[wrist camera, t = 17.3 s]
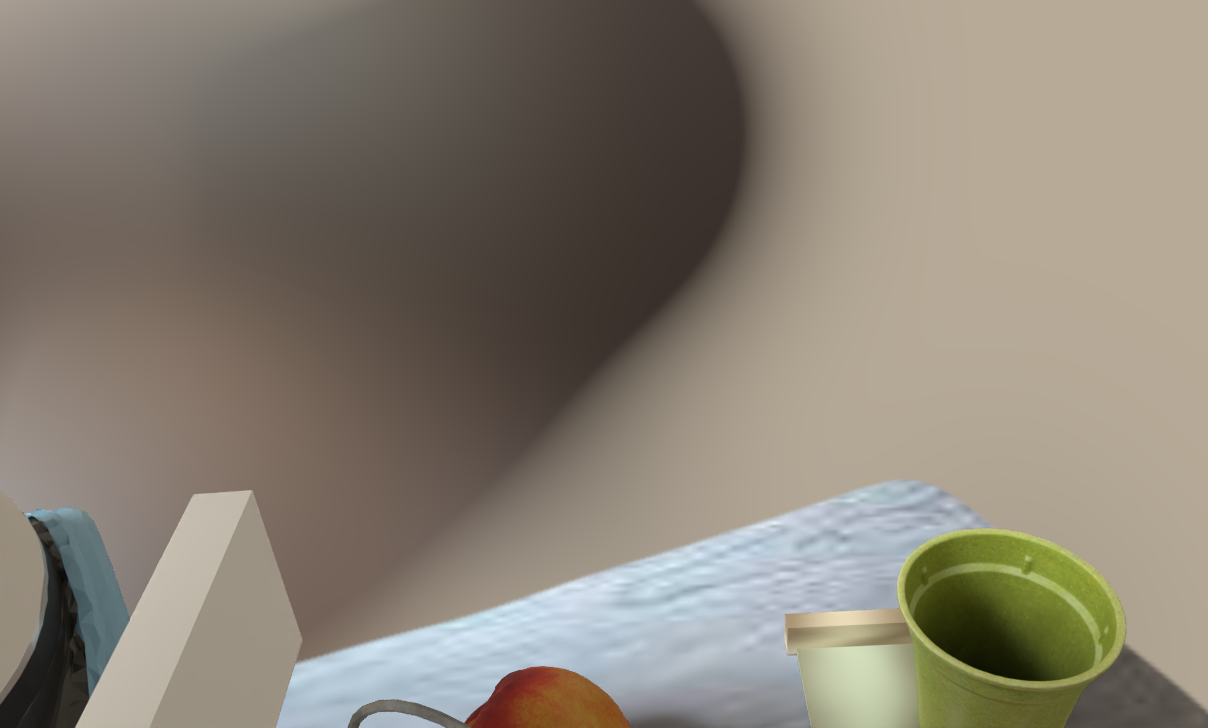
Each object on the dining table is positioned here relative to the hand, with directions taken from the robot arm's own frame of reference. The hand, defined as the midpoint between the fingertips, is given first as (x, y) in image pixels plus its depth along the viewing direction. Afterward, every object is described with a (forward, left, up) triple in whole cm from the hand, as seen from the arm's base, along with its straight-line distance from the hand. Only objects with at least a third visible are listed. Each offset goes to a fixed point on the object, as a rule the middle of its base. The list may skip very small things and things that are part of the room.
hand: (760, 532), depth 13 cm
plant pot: (+13, +22, -33) cm, 42 cm away
